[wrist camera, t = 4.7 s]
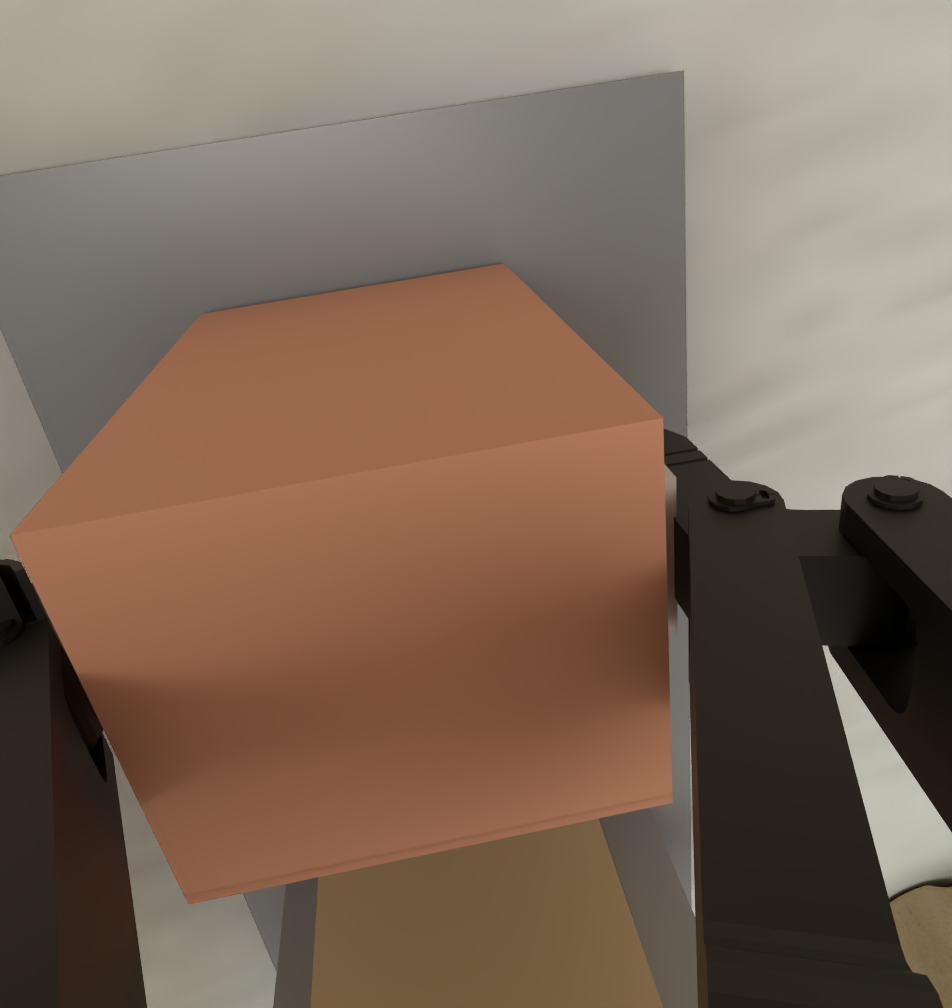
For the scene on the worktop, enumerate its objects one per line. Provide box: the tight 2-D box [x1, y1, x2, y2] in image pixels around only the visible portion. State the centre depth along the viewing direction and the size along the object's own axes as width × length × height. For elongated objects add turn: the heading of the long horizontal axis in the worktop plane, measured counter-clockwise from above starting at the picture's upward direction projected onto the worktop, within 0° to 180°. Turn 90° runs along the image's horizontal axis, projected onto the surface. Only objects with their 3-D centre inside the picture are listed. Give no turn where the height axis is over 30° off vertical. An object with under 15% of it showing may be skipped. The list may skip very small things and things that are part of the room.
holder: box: [0, 71, 698, 1008], centre depth 18 cm, size 16×32×14 cm, turn 8°
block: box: [10, 263, 673, 904], centre depth 14 cm, size 7×6×10 cm
